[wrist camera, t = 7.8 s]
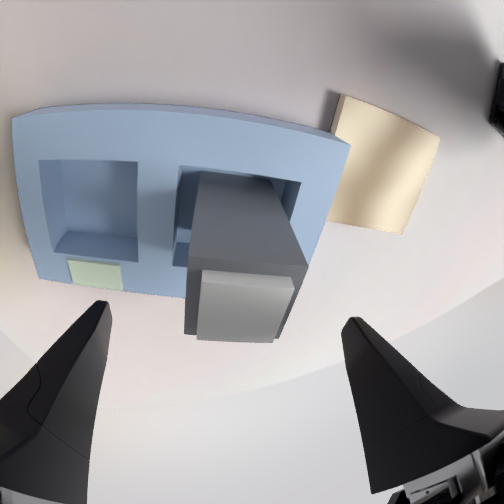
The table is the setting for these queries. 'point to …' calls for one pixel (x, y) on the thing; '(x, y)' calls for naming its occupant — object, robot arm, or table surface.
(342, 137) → the coaster
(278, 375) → the table surface
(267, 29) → the table surface
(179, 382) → the table surface
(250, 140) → the dock
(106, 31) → the table surface
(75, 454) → the robot arm
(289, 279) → the plug
